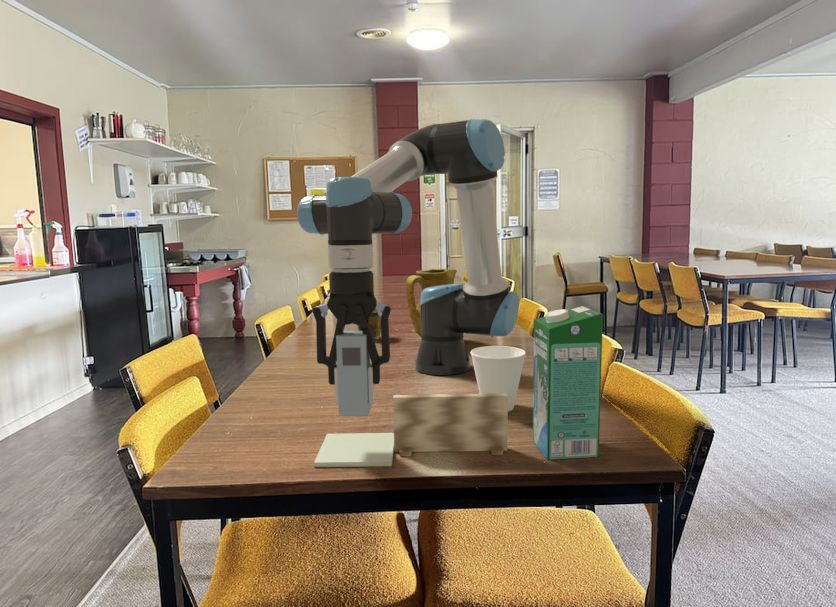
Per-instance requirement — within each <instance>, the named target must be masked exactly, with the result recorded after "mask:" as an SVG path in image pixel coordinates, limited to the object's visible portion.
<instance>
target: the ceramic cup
mask: <svg viewBox="0 0 836 607" xmlns="http://www.w3.org/2000/svg"><path fill="white" fill-rule="evenodd" d="M368 320H369V323H370V328H371V331H372V335H373V338H374V341H375V340H379V339H381V317H380V316H379V315H378V311H377V309H374V311H373V312H372V313H371V315H370V316H369V318H368ZM357 329H358V331H362V330H361V327H360V325H357Z"/></svg>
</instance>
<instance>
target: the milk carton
mask: <svg viewBox="0 0 836 607" xmlns="http://www.w3.org/2000/svg"><path fill="white" fill-rule="evenodd" d="M603 319H604V313H601V312H600V311H596V310H595V309H591V308H589V307H588V306H587V307H586V306H584V305H580V306H577V307H572V308H569V309H564V308H561V309H555V310H551V311H548V312H546V313H545V315H544V316H542V317H538V318H535V319H533V367H532V368H533V376H532V377H533V382H532V383H533V384H532V387H533V388H532V392H533V393H532V441H533V442H534V444H536V446H537V448H538V449H539V450H540V451H541V453H542V454H543V455H544V457H545V458H546V459H547V460H565V459H583V458H585V459H586V458H598V457H599V454H600V426H601V425H600V422H601V391H602V390H601V388H602V386H601V385H602V361H603V360H602V357H603V356H602V355H603V349H602V348H603V325H604V324H603V323H604V320H603Z"/></svg>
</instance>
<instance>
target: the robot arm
mask: <svg viewBox="0 0 836 607" xmlns="http://www.w3.org/2000/svg"><path fill="white" fill-rule="evenodd" d="M505 151H506V149H505V145H504V139H503V135H502V133H501V131H500V130H499V127H497V125H496V124H495V123H494V122H493V121H491V120H489V119H486V118H485V119H484V118H483V119H482V118H481V119H480V118H479V119H478V118H477V119H475V118H473V119H471V118H470V119H466V120H460V121H459V120H458V121H453V122H444V123H434V124H430V125H426V126H424V127H421V128H419V129H417V130H415V131H414V132H411V133H409V134H407V135H405V136H404V137H402V138H400V139H398V140H397V141H395V142H394V143H393V144H392V145H391V146H390V147H389V149H388V152H387V153H386V154H384V155H383V156H381V157H379V158H377V159H376V160H375V161H373V162H372V163H370V164H368V165H367V166H365V167H364V168H362V169H361V170H359V171H357V172H356V173H355V174H353V175H351V176H339V177H333V178H332V177H331V178H330V179H329V180H328V181H327V183H326V192H324V193H323V194H312V195H307V196H304V197H303V198H302V199H301V200H300V201H299V203H298V205H297V208H296V209H297V210H296V217H297V218H296V219H297V221H298V223H299V226H300V227H301V229H302V230H303V231H305V232H306V233H308V234H315V235H316V234H317V235H318V234H319V235H323V236H324V235H327V237H328V238H327V251H328V252H327V253H328V254H327V255H328V268H330V269H331V271H330V273H328V279H329V280H328V281H329V282H328V283H329V297H328V300H327V303H324V304H321V305H316V306H315V307H313V308H312V314H313V316H314V319H315V324H316V325H315V327H316V329H315V330H316V363H317V364H319V365H325V367H327V370H328V371H327V372H328V373H327V374H328V383H329V385H331V386H333V385H334V393H335V394H334V396H335V397H334V399H335V400H334V401H335V405H339V404H338V376H337V348H336V336H337V335H342V333H343V332H344V331H345V327H346V325H350V324H353V325H356V326H358V325H360V327H361V330H362V332H363V335H367V349H368V352H369V356H370V364H369V366H368V388H369V404H371V405H374V403H375V385H379V384H380V381H381V365H384V364H388V363H389V362H390V358H391V348H390V344H391V342H390V326H389V325H390V324H389V322H390V321H389V318H390V314H391V312H392V311H391V310H392V305H390V304H383V303H380V302H378V300H377V299H376V297H375V293H374V292H375V290H374V289H375V288H374V287H375V286H374V272H373V271H372V270H371V268H373V267H374V253H373V252H374V250H373V249H374V246H373V235H375V234H376V235H379V234H380V235H383V234H384V235H385V234H387V235H390V234H391V235H393V234H394V235H395V233H396V234H397V233H401V232H404V231H405V230H406V229H407V228H408V226H409V225H410V224H411V221H412V217H413V210H412V209H413V208H412V205H411V203H410V201H409V199H408V198H407V197H406V196H404V195H403V194H400V193H397V192H394V191H395V190H396V189H398V188H399V187H400V186H402V185H403V184H404V183H406V182H412V181H415V180H417V179H419V178H420V177H423V176H428V175H430V176H431V175H444V174H445V175H447V178H448V184H449V185H450V186H451V187H453V188H454V189H455V192H456V198H457V205H458V206H457V208H458V213H459V221H460V227H461V228H460V229H461V235H462V236H461V238H462V246H463V251H464V252H463V253H464V260H465V268H466V276H467V282H466V283H465V284H464V285H463V283H454V284H448V285H440V286H434V287H428V288H425V289H423V290H422V292H421V300H420V309H421V338H420V343H419V344H420V345H419V348H418V350H417V351H418V352H417V354H416V358H415V361H414V363H415V365H414V367H415V370H416V371H417V372H419V373H422V374H425V375H432V376H434V375H435V376H451V375H452V376H453V375H458V374H463V373H467V372H468V371H470V369H471V359H470V357H469V354H468V350H467V348H466V344H465V341H464V334H467V335H477V336H478V335H479V336H488V337H491V338H493V337H506V336H508V335H510V333H511V332H512V331H513V330H514V327H515V326H516V323H517V319H518V315H519V309H520V299H519V296H518V294H517V293H516V292H514V291H512V290H511V291H510V286H509V282H508V280H507V279H505V278H503V277H502V268H501V259H500V258H501V257H500V249H499V239H498V229H497V220H496V211H495V210H496V209H495V201H494V191H493V190H494V189H493V184H494V182H495V181H496V180H497V179H498V171H500V170H501V169H502V168H503V166H504V164H505V156H506V155H505V154H506V152H505ZM374 309H377V311H378V315H379V316H380V317H381V331H380V339H381V340H380V341H381V342H380V343H381V355H379V352H378V348H377V345H376V342H375V340H374V338H373V335H372V331H371V328H370V323H369V320H368V318H369V316H370V315H371V313H372V312H373V311H374ZM328 311H329V312H331V313H332V315H333V316H334V317H335V319H336V324H335V330H334V334H333V339H332V343H331V347H330V351H329V352H330V353H329V356H328V355H327V325H326V324H327V323H326V322H327V320H326V317H328V315H329V314H328Z"/></svg>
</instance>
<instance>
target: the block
mask: <svg viewBox="0 0 836 607" xmlns="http://www.w3.org/2000/svg"><path fill="white" fill-rule="evenodd" d="M336 348H337V362H336V364H337V376H338V404H337V405H338V417H369V414H370V411H371V409H372V404H369V388H368V366H369V364H371V359H370V356H369V352H368V349H367V335H363V332H362V331H359V330H344V332H343V333H342V335H337V336H336Z"/></svg>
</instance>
